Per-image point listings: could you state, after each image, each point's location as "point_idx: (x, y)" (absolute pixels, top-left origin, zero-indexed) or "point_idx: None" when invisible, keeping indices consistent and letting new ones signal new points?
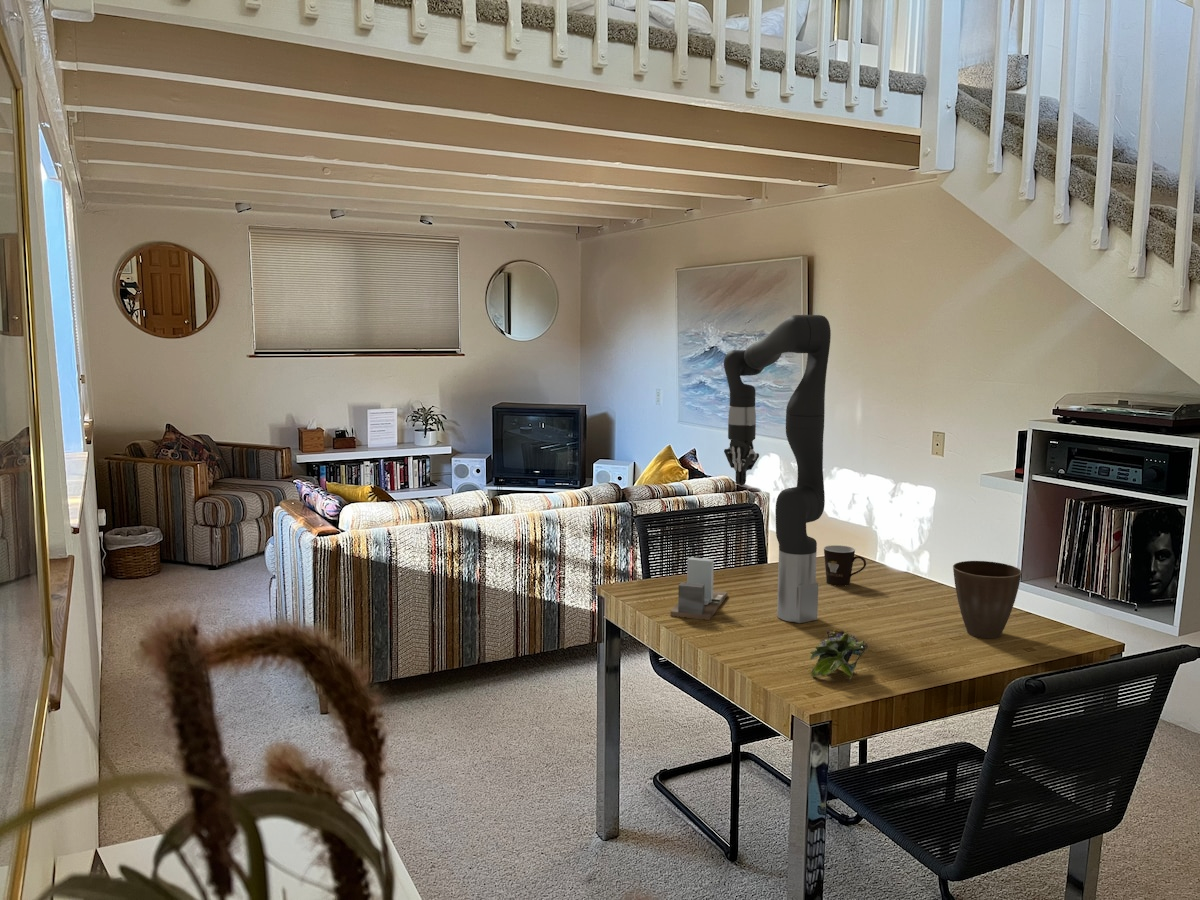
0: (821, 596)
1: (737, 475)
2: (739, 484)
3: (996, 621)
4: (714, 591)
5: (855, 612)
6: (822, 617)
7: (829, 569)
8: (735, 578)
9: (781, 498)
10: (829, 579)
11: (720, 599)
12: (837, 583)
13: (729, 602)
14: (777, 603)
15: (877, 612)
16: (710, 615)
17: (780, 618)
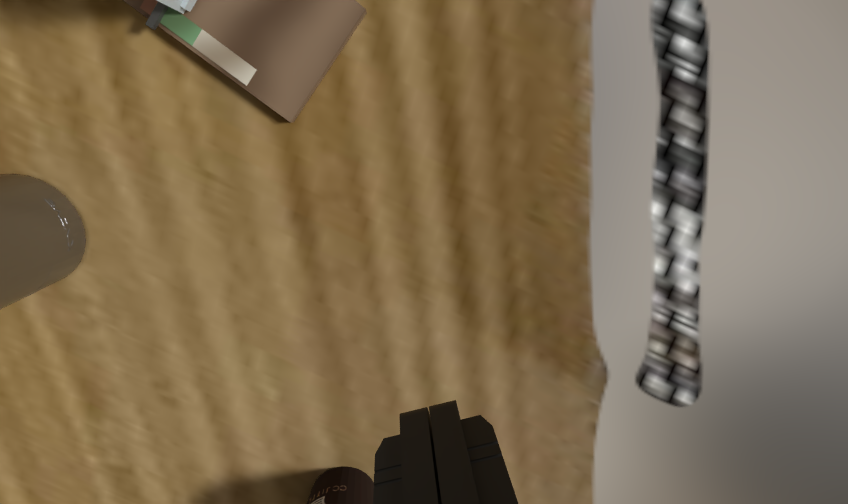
0: (226, 395)
1: (441, 471)
2: (401, 413)
3: None
4: (304, 77)
5: (57, 410)
6: (19, 305)
7: (326, 499)
8: (482, 241)
9: None
10: (333, 477)
11: (203, 54)
12: (315, 484)
13: (221, 96)
14: (6, 184)
15: (51, 461)
16: None
17: (3, 174)
